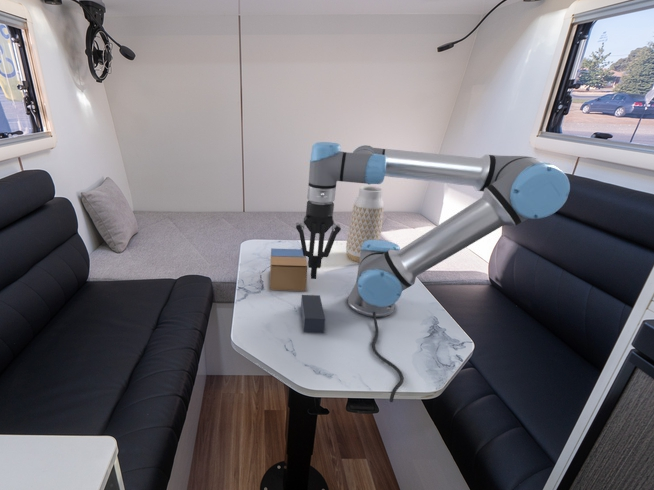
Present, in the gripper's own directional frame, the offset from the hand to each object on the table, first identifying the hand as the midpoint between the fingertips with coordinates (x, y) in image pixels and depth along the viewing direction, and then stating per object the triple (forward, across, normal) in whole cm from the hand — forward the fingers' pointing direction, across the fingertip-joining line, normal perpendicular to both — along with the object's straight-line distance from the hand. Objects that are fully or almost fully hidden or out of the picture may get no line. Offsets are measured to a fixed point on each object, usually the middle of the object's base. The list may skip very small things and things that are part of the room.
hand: (313, 276), depth 114 cm
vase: (+15, +25, +50) cm, 57 cm away
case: (+15, +1, -1) cm, 15 cm away
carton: (+15, -7, +24) cm, 29 cm away
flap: (+5, -8, +28) cm, 29 cm away
